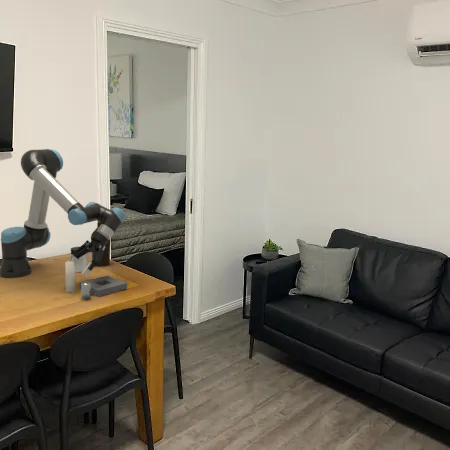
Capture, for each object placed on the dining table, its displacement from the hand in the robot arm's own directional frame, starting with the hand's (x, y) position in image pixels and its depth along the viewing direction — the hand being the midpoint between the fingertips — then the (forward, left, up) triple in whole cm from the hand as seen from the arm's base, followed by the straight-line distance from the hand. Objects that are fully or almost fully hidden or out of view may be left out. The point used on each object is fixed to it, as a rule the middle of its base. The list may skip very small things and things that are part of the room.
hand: (75, 272), depth 222 cm
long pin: (-1, -2, -9) cm, 9 cm away
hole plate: (+6, +11, -9) cm, 15 cm away
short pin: (+12, -2, -9) cm, 15 cm away
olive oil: (-30, +34, -9) cm, 46 cm away
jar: (-28, +19, -9) cm, 35 cm away
